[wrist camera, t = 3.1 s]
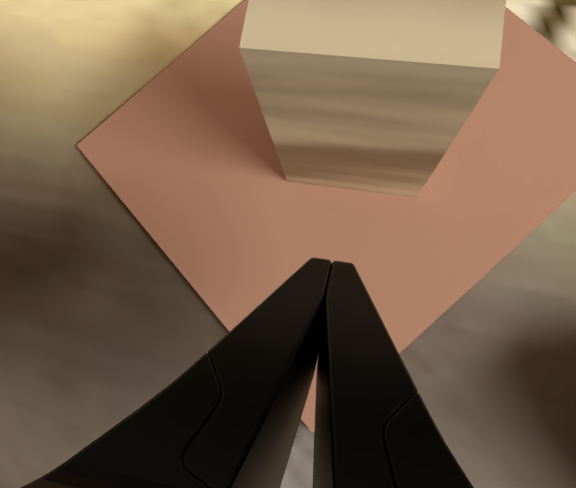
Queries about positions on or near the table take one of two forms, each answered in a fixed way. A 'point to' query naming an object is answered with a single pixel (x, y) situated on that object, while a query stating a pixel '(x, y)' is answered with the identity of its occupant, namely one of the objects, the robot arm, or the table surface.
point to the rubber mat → (330, 200)
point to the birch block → (369, 84)
